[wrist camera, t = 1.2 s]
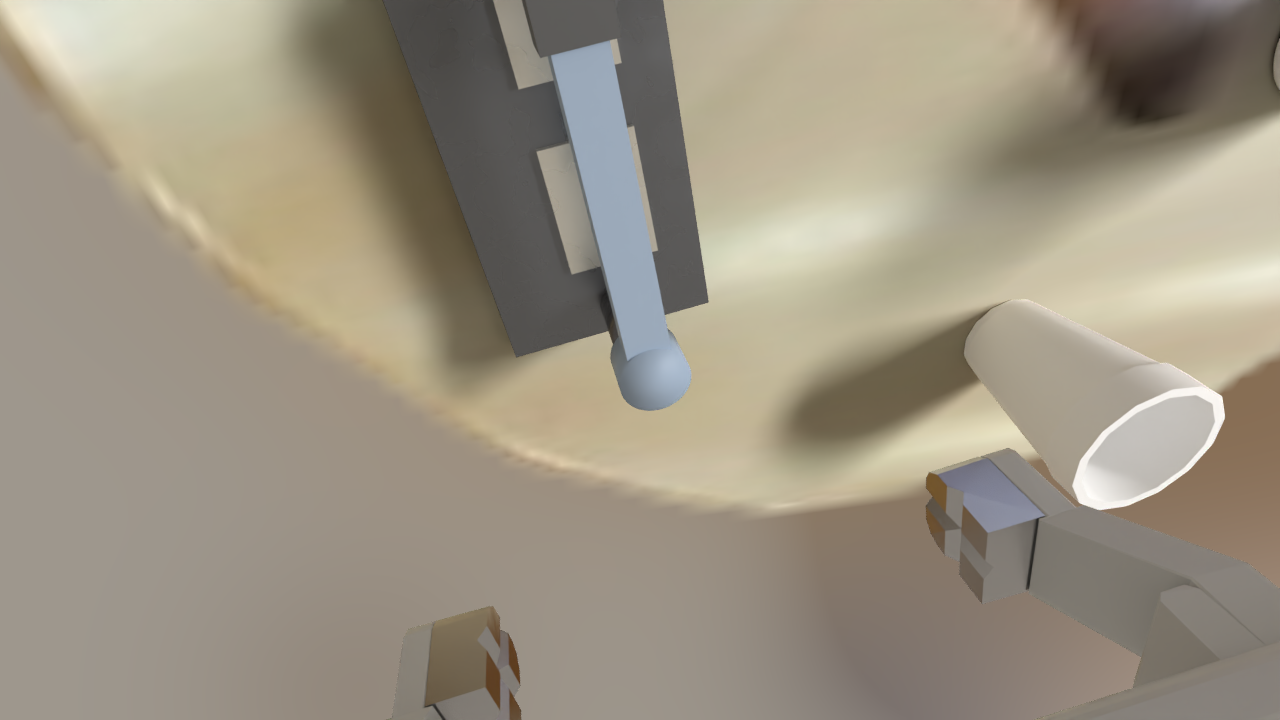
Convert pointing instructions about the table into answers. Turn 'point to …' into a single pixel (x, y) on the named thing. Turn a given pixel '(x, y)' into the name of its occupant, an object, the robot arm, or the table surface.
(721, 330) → the table surface
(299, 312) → the table surface
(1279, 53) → the fruit juice
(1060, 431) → the foam cup
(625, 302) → the swing arm
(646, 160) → the switch panel
